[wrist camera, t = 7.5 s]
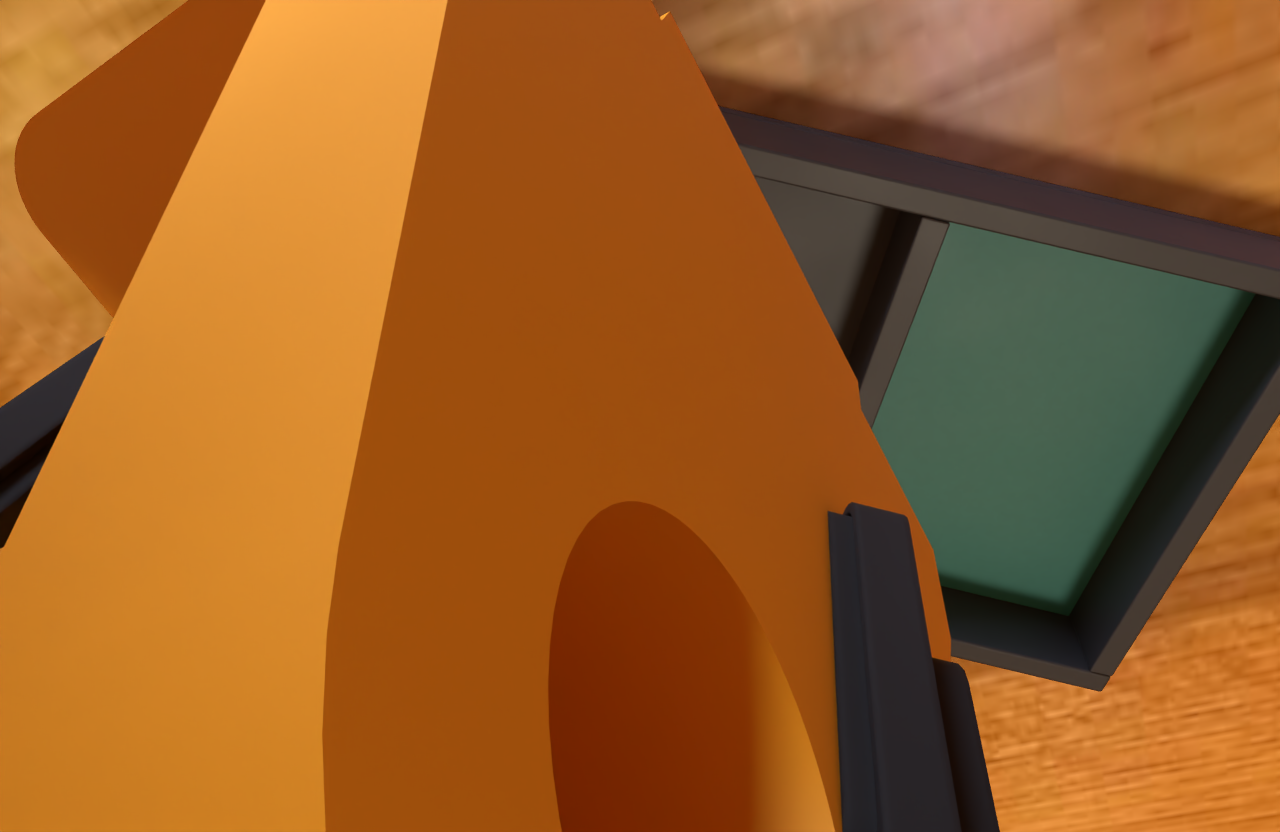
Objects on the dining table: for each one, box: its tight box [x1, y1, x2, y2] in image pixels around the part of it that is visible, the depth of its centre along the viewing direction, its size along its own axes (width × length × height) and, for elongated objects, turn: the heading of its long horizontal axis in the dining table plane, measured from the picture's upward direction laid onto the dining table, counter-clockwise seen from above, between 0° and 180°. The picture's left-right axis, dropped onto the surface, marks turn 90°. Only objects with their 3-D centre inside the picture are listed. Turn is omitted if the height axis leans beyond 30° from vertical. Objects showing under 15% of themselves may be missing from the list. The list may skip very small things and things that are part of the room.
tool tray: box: [718, 106, 1280, 691], centre depth 31 cm, size 22×16×4 cm
